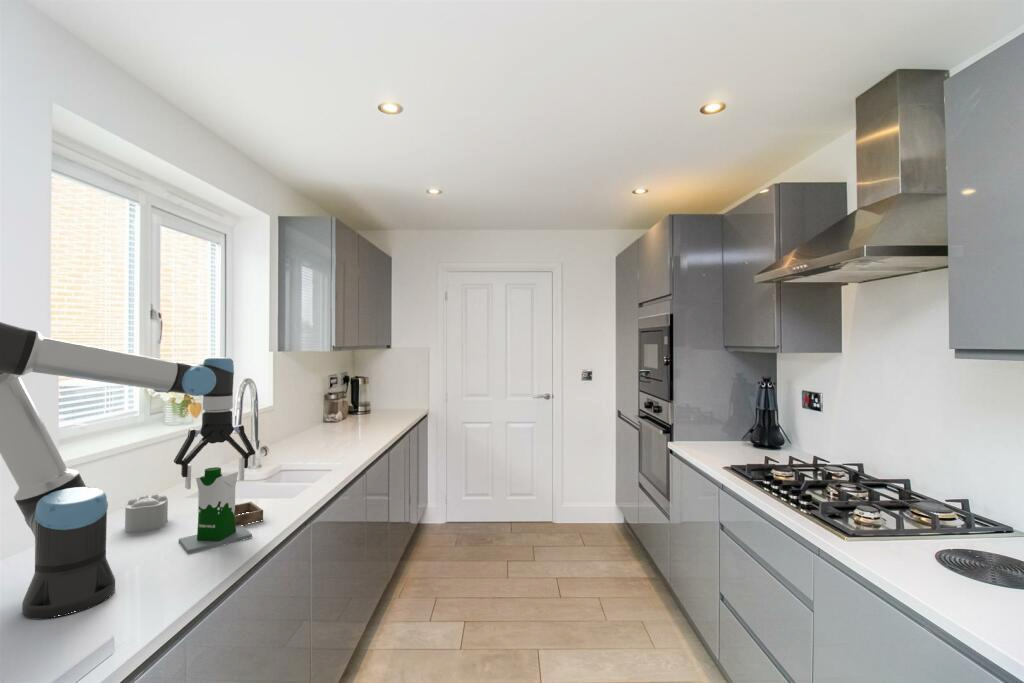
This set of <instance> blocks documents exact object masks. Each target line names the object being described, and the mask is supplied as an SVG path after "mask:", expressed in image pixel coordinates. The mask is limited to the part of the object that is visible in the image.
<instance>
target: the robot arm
mask: <svg viewBox="0 0 1024 683" xmlns="http://www.w3.org/2000/svg"><path fill="white" fill-rule="evenodd" d="M234 366H235V365H234V360H233V359H232V358H230V357H205V358H203V362H202V364H201V363H200V364H188V363H183V362H176V361H173V360H168V359H162V358H161V359H160V358H157V357H151V356H147V355H141V354H135V353H131V352H130V353H129V352H124V351H119V350H113V349H109V348H108V349H107V348H103V347H97V346H93V345H87V344H82V343H81V344H80V343H75V342H70V341H66V340H59V339H56V338H55V339H53V338H48V337H45V336H42V334H41V333H40V332H39V331H38V330H33V329H32V330H31V329H26V328H23V327H19V326H15V325H12V324H7V323H5V322H2V321H0V456H1V457H2V459H3V461H4V463H5V465H6V467H7V468H8V471H9V472H10V474H11V476H12V477H13V479H14V481H15V483H16V484H17V486H18V490H17V491H16V493H15V495H14V497H13V500H14V501H15V503H16V505H17V507H18V508H19V510H20V512H21V514H22V515H23V517H24V521H25V523H26V525H27V526H28V528H29V529H30V530H31V532H32V534H33V536H34V543H35V545H34V547H35V548H34V573H33V576H32V578H31V581H30V584H29V586H28V588H27V591H26V594H25V596H24V598H23V600H22V605H21V606H22V608H21V610H22V612H21V613H22V616H23V615H24V616H23V617H25V616H26V617H25V618H27V617H29V618H28V619H32V618H45V619H49V618H48V617H53V618H55V617H54V616H58V615H64V616H66V615H65V614H68V613H71V612H74V611H78V612H80V611H79V610H82V609H84V610H87V609H89V608H88V607H90V608H92V607H94V606H96V604H97V605H99V604H100V602H101V603H102V602H105V601H106V600H107V599H109V598H110V597H111V596H113V594H115V592H114V591H116V579H115V575H114V573H113V571H112V569H111V566H110V564H109V562H108V560H107V527H108V526H107V518H108V517H107V516H108V508H109V502H108V499H107V497H108V496H107V495H106V493H105V491H104V490H102V489H100V488H96V487H90V486H89V487H88V486H87V485H86V484H85V482H84V480H83V478H82V476H81V474H80V472H79V471H78V470H77V469H70V468H69V467H67V465H66V464H65V462H64V460H63V458H62V456H61V454H60V452H59V450H58V448H57V446H56V444H55V443H54V440H53V438H52V437H51V434H50V432H49V431H48V429H47V427H46V426H45V425H46V424H45V423H44V421H43V419H42V417H41V416H40V414H39V411H38V410H37V407H36V406H35V404H34V401H33V400H32V398H31V396H30V394H29V391H27V388H26V387H25V384H24V382H23V380H22V379H21V376H25V375H27V374H30V373H37V374H38V373H39V374H44V375H51V376H52V375H53V376H57V377H65V378H72V379H79V380H87V381H93V382H94V381H95V382H101V383H107V384H115V385H121V386H130V387H135V388H142V389H143V388H144V389H151V390H153V391H154V392H155V393H166V394H168V393H177V394H184V395H190V396H193V397H200V396H202V410H203V412H202V414H201V428H200V429H194V428H190V429H188V433H187V437H186V439H185V441H184V443H183V444H182V445H181V447H180V448H179V450H178V452H177V454H176V456H175V458H174V459H173V463H174V464H175V465H180V466H181V467H180V468H181V472H180V474H181V477H183V478H184V479H185V480H184V481H185V482H184V488H185V489H186V490H191V487H192V465H191V462H192V460H194V458H195V457H196V456H197V455H198V454H199V453H200V452H201V451H202V450H203V448H205V447H206V446H207V445H208V444H211V445H212V444H216V443H217V444H218V443H221V444H222V443H224V442H227V443H228V444H229V445H230V446H232V448H234V449H235V450H236V451H237V453H239V455H241V456H240V457H238V481H245V469H248V468H249V458H250V456H254V455H256V451H255V449H254V447H253V445H252V443H251V441H250V440H249V438H248V436H247V434H246V433H245V425H242V424H238V425H234V426H233V411H232V409H233V402H234V401H233V400H234V399H233V398H234V397H233V396H234V375H235V370H234ZM234 432H235V433H237V434H238V436H239V438H240V440H241V442H242V444H243V445H244V447H245V448H246V450H245V449H244V448H243V447H242V446H240V444H238V443H237V441H236V440H235V439H234V438H233V437H231V435H232V433H234ZM199 434H200V435H201V436H202V438H201V439H199V442H198V443H197V444H196V445H195V446H194V447H193V448H192V449H191V450H190V451H189V449H190V447H191V446H192V444H193V442H194V440H195V438H197V437H198V435H199ZM188 451H189V452H188ZM187 452H188V454H187ZM186 454H187V455H186ZM110 595H111V596H110ZM109 596H110V597H109ZM108 597H109V598H108ZM105 599H106V600H105ZM98 603H99V604H98ZM86 608H87V609H86ZM82 611H83V610H82ZM68 615H69V614H68Z"/></svg>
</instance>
